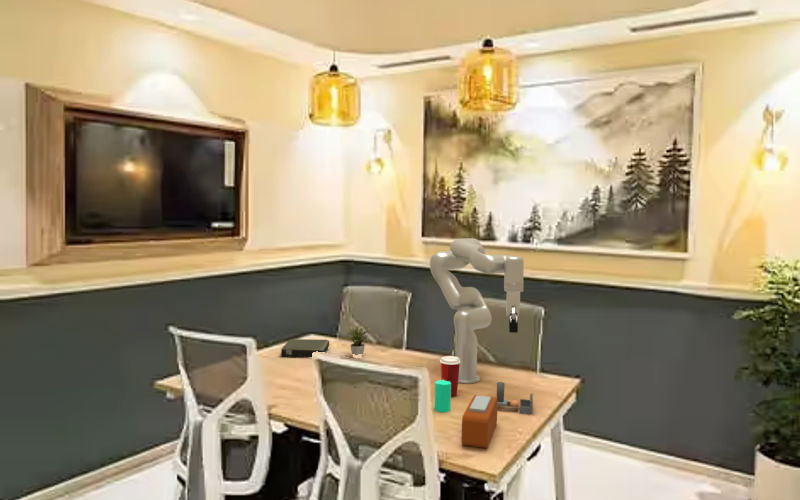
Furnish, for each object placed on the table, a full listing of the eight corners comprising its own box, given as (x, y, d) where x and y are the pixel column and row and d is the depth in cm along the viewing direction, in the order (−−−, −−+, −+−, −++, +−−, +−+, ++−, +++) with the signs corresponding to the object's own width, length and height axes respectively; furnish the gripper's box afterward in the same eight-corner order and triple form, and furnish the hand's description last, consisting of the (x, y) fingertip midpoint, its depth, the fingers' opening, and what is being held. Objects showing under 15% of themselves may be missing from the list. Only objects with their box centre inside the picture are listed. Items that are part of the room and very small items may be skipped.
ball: (509, 409, 228) (510, 401, 228) (510, 406, 232) (510, 398, 231) (518, 410, 228) (519, 402, 227) (519, 407, 231) (519, 399, 231)
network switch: (284, 347, 317) (284, 338, 317) (329, 347, 320) (329, 338, 319) (280, 360, 294) (280, 349, 293) (328, 359, 296) (329, 349, 296)
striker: (492, 408, 229) (493, 384, 229) (493, 404, 234) (494, 380, 233) (506, 409, 228) (507, 385, 227) (506, 405, 233) (507, 381, 232)
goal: (519, 413, 225) (519, 400, 224) (520, 405, 234) (520, 392, 233) (532, 414, 224) (532, 401, 223) (532, 406, 233) (532, 393, 232)
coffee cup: (461, 392, 248) (462, 356, 246) (456, 398, 240) (457, 361, 239) (442, 390, 251) (442, 354, 249) (436, 396, 243) (437, 359, 241)
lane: (472, 408, 230) (472, 404, 229) (474, 401, 237) (474, 397, 237) (518, 412, 226) (518, 408, 226) (518, 405, 233) (519, 401, 233)
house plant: (371, 362, 291) (371, 328, 290) (342, 361, 291) (343, 328, 290) (373, 354, 305) (373, 322, 304) (345, 353, 306) (346, 322, 304)
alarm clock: (473, 420, 217) (474, 390, 216) (497, 423, 215) (498, 392, 214) (461, 447, 194) (461, 412, 193) (486, 450, 192) (488, 415, 191)
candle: (445, 413, 224) (446, 381, 223) (431, 410, 227) (432, 379, 226) (453, 408, 229) (453, 377, 228) (439, 405, 232) (439, 375, 231)
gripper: (504, 284, 249) (503, 325, 250) (504, 289, 232) (503, 334, 233) (522, 284, 247) (522, 326, 248) (523, 290, 230) (523, 334, 231)
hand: (513, 330), depth 240 cm, fingers open, 9 cm apart
